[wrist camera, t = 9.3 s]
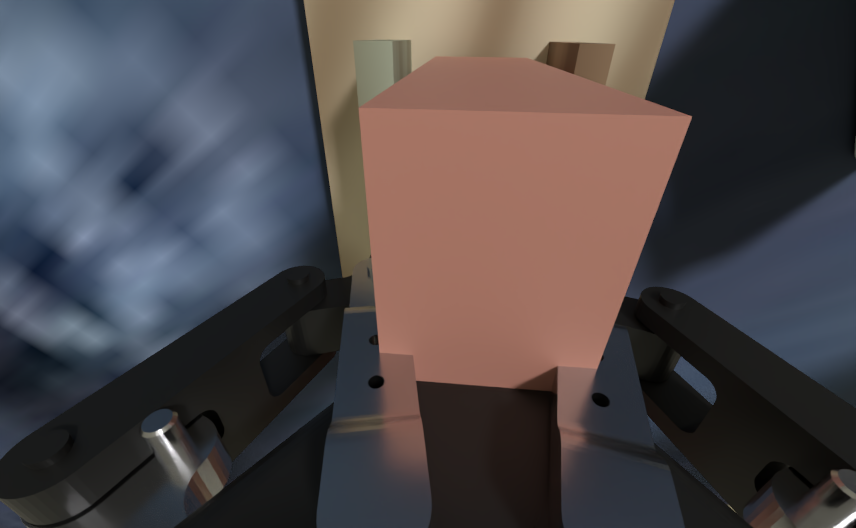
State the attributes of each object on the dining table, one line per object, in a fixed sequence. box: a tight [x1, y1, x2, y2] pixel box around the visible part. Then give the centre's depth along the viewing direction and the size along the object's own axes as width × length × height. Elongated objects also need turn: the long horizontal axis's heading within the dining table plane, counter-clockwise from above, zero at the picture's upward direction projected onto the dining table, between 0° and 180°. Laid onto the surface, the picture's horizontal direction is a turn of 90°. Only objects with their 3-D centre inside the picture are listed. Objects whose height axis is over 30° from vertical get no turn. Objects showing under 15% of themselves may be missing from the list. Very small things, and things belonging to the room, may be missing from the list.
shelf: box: [304, 0, 675, 278], centre depth 16 cm, size 14×16×6 cm
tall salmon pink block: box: [359, 56, 692, 391], centre depth 12 cm, size 4×11×12 cm, turn 179°
